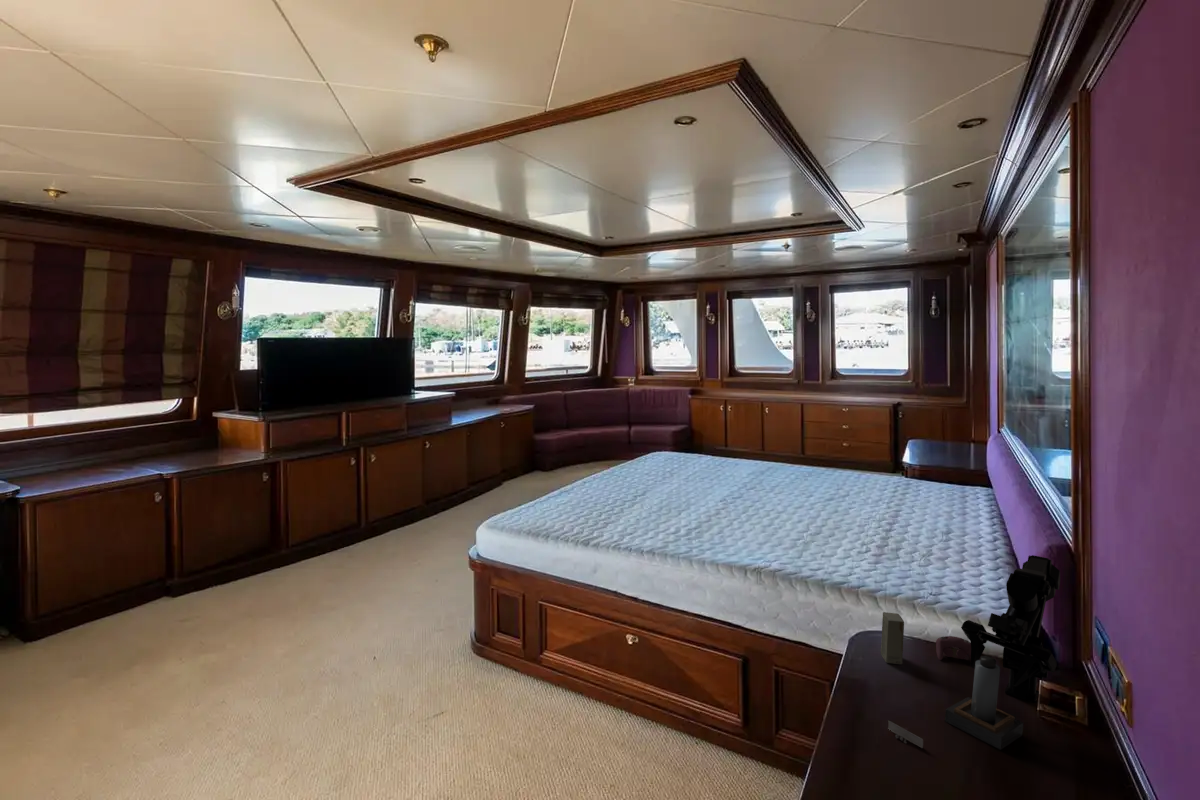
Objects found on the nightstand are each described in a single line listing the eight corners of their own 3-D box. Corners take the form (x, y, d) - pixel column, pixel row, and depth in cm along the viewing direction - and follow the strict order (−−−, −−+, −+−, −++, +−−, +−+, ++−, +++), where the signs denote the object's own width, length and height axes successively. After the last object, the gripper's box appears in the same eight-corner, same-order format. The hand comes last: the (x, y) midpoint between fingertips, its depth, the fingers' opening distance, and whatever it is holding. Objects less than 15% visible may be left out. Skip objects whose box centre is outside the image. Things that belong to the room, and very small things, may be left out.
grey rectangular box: (967, 708, 149) (968, 693, 149) (1022, 735, 139) (1023, 719, 139) (944, 721, 144) (946, 705, 144) (1000, 750, 134) (1001, 733, 134)
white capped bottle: (973, 706, 145) (978, 651, 144) (997, 715, 142) (1002, 659, 140) (968, 715, 141) (973, 659, 140) (993, 724, 138) (998, 667, 137)
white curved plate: (913, 755, 132) (914, 742, 132) (878, 735, 139) (879, 723, 138) (922, 749, 134) (923, 736, 134) (888, 730, 141) (888, 717, 140)
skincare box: (902, 665, 169) (905, 622, 168) (885, 663, 170) (888, 620, 169) (896, 654, 176) (898, 612, 175) (880, 652, 177) (882, 611, 176)
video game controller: (973, 666, 173) (972, 639, 175) (978, 666, 169) (976, 639, 171) (934, 659, 176) (933, 634, 179) (937, 659, 172) (937, 633, 175)
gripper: (967, 587, 151) (940, 641, 146) (1055, 616, 136) (1027, 678, 131) (982, 611, 156) (955, 664, 151) (1068, 642, 140) (1041, 702, 136)
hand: (992, 676), depth 142 cm, fingers open, 9 cm apart
